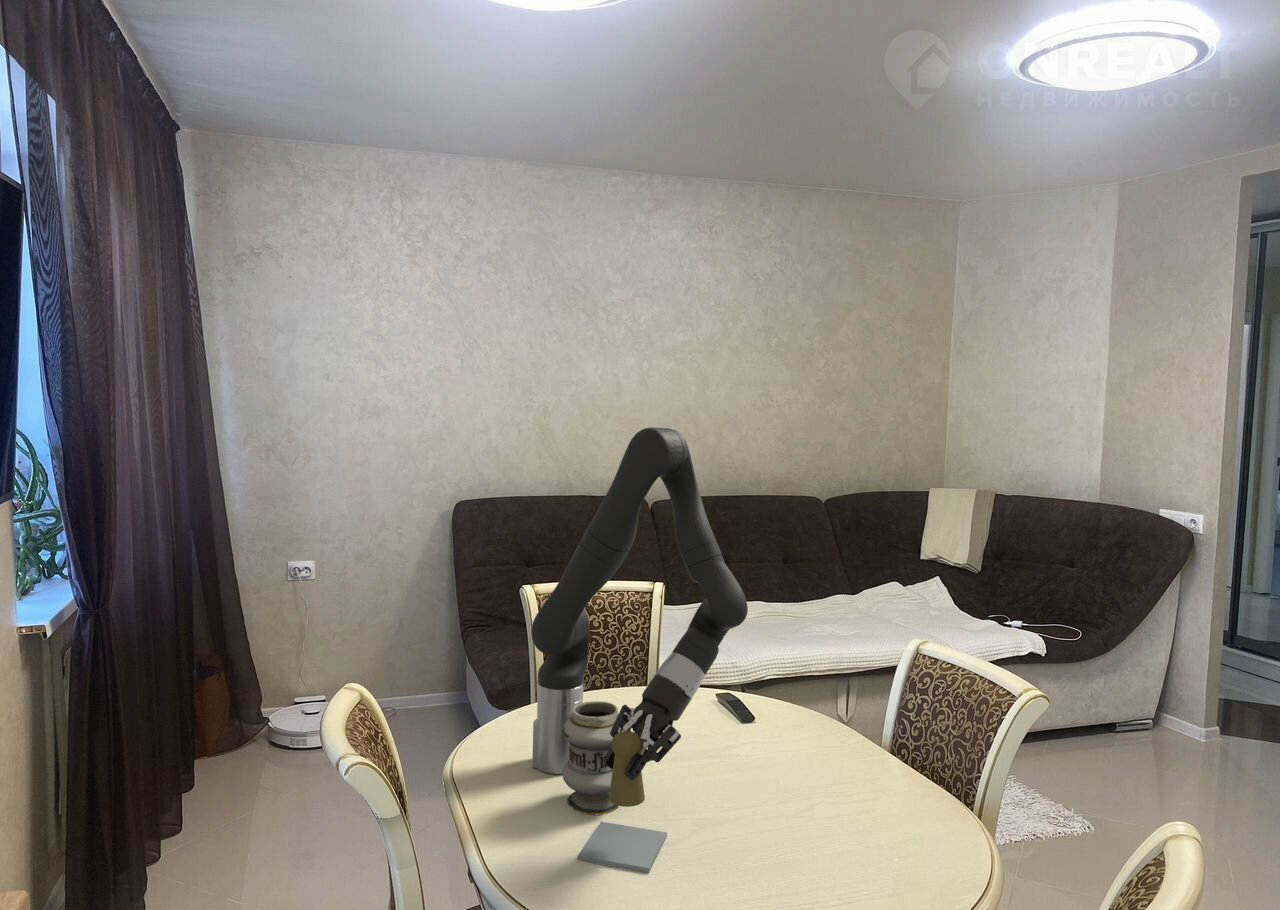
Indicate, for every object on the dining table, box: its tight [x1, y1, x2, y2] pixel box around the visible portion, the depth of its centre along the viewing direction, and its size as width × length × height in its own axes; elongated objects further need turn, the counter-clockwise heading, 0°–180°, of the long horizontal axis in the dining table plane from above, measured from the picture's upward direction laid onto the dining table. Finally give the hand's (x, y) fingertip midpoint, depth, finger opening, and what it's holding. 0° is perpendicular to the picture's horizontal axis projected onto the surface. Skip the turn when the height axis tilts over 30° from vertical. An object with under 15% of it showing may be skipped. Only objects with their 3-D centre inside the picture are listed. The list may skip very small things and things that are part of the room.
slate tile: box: [577, 821, 668, 874], centre depth 147 cm, size 12×12×1 cm
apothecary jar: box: [561, 700, 621, 816], centre depth 162 cm, size 12×12×18 cm
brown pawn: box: [609, 731, 646, 808], centre depth 146 cm, size 6×6×11 cm
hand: (618, 771), depth 144 cm, fingers closed on brown pawn, 5 cm apart
